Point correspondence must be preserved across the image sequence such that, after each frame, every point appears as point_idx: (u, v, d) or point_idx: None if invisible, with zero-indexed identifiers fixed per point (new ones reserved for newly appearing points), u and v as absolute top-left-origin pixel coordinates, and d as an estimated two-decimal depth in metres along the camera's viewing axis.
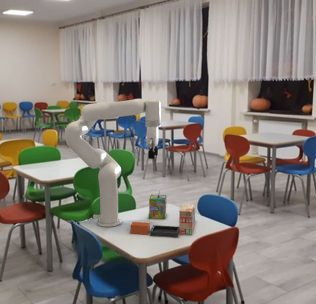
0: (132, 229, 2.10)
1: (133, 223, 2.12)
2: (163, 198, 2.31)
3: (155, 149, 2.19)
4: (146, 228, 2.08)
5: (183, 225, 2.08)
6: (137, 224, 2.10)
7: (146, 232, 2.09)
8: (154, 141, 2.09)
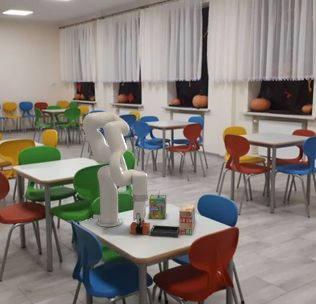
0: (132, 229, 2.10)
1: (133, 223, 2.12)
2: (163, 198, 2.31)
3: None
4: (146, 228, 2.08)
5: (183, 225, 2.08)
6: None
7: (146, 232, 2.09)
8: (141, 216, 2.05)
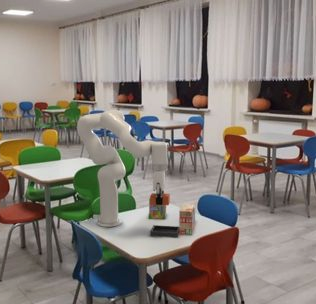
0: (152, 200, 2.06)
1: (152, 194, 2.09)
2: None
3: None
4: (166, 199, 2.05)
5: (183, 225, 2.08)
6: None
7: (166, 203, 2.05)
8: (161, 186, 2.02)
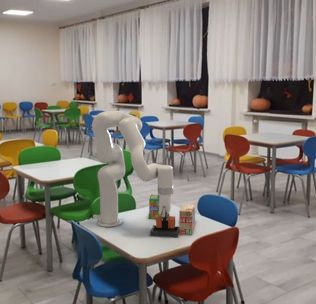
0: (158, 223, 2.08)
1: (158, 217, 2.10)
2: None
3: None
4: (172, 222, 2.06)
5: (183, 225, 2.08)
6: None
7: (172, 226, 2.07)
8: (167, 209, 2.03)
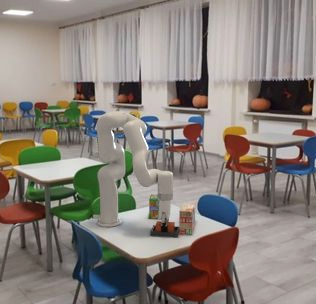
0: (157, 228, 2.09)
1: (157, 222, 2.11)
2: None
3: None
4: (171, 227, 2.07)
5: (183, 225, 2.08)
6: None
7: (171, 231, 2.07)
8: (167, 215, 2.04)
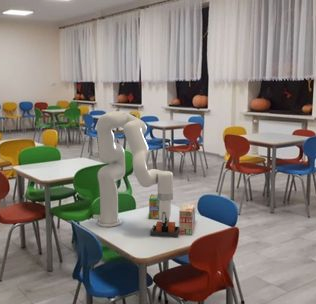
0: (157, 228, 2.08)
1: (158, 222, 2.11)
2: None
3: None
4: (172, 227, 2.07)
5: (183, 225, 2.08)
6: None
7: (172, 231, 2.07)
8: (167, 215, 2.04)
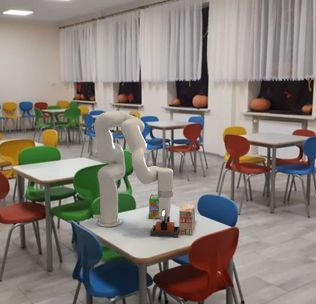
0: (157, 228, 2.09)
1: (157, 222, 2.11)
2: None
3: (167, 218, 2.14)
4: (171, 227, 2.07)
5: (183, 225, 2.08)
6: None
7: None
8: (167, 212, 2.04)
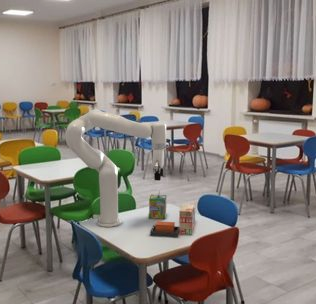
0: (157, 228, 2.09)
1: (157, 222, 2.11)
2: (163, 198, 2.31)
3: (161, 170, 2.27)
4: (171, 227, 2.07)
5: (183, 225, 2.08)
6: (162, 223, 2.09)
7: None
8: (160, 163, 2.17)
